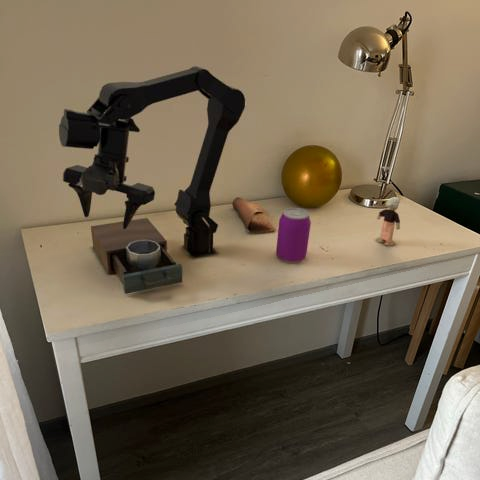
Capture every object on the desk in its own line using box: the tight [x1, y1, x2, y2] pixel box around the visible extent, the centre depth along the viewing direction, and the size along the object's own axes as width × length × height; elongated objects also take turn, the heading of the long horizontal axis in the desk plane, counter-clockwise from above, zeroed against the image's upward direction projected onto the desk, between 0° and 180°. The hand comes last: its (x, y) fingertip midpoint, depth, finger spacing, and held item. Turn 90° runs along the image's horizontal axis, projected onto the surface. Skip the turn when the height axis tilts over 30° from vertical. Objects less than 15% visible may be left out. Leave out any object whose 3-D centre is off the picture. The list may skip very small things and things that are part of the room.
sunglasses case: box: [231, 196, 275, 234], centre depth 145 cm, size 18×7×7 cm
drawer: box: [110, 245, 183, 295], centre depth 114 cm, size 17×13×4 cm
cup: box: [126, 240, 161, 273], centre depth 114 cm, size 7×8×6 cm
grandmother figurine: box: [376, 196, 401, 246], centre depth 135 cm, size 8×4×13 cm, turn 47°
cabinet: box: [90, 217, 168, 275], centre depth 123 cm, size 14×14×6 cm
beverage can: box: [275, 207, 312, 264], centre depth 125 cm, size 8×8×12 cm
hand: (105, 222), depth 111 cm, fingers open, 9 cm apart
